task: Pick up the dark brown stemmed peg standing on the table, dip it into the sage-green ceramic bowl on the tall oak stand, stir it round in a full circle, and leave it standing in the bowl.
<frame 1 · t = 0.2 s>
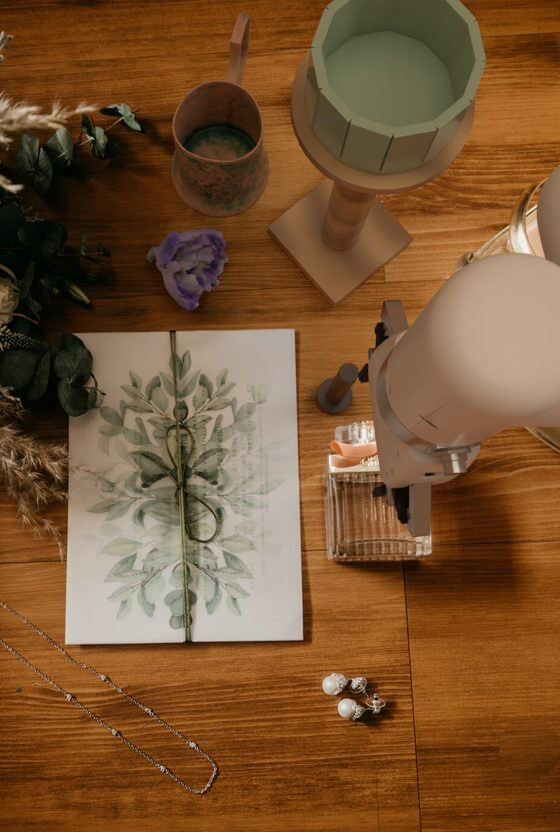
hand: (383, 434, 60), 22 cm above the table, tool pointing down, fingers open, 9 cm apart
flower: (184, 278, 84), on the table
stand: (338, 238, 84), on the table
dark brown stemmed peg: (333, 398, 83), on the table
bowl: (383, 101, 58), resting on stand
mug: (226, 148, 85), on the table
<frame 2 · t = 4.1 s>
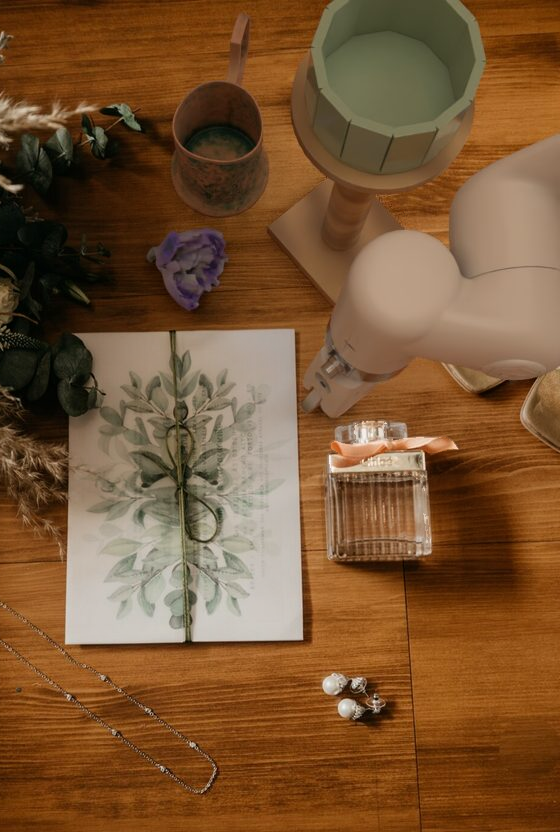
hand: (341, 385, 76), 7 cm above the table, tool pointing down, fingers closed on dark brown stemmed peg, 2 cm apart
dark brown stemmed peg: (333, 398, 83), on the table, touching gripper
everything else where it was.
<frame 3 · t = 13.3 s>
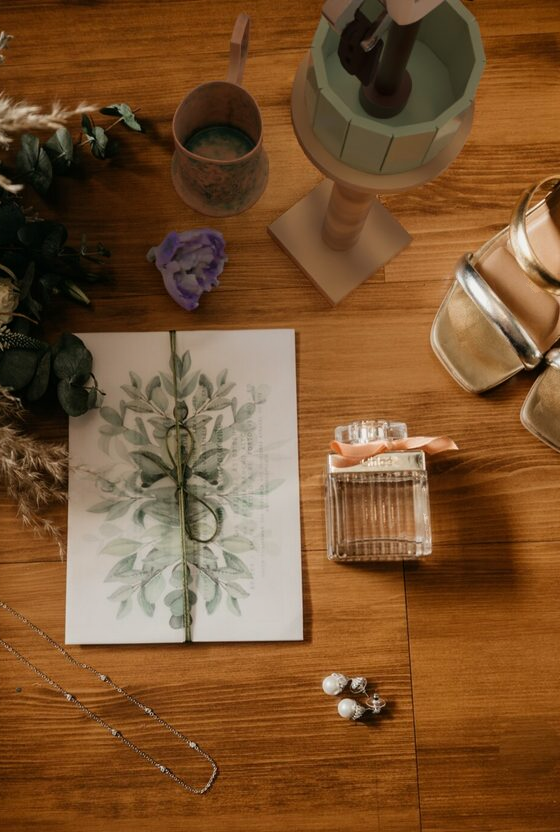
hand: (407, 27, 50), 34 cm above the table, tool pointing down, fingers open, 9 cm apart
dark brown stemmed peg: (383, 95, 58), point 27 cm above the table, touching bowl
everything else where it was.
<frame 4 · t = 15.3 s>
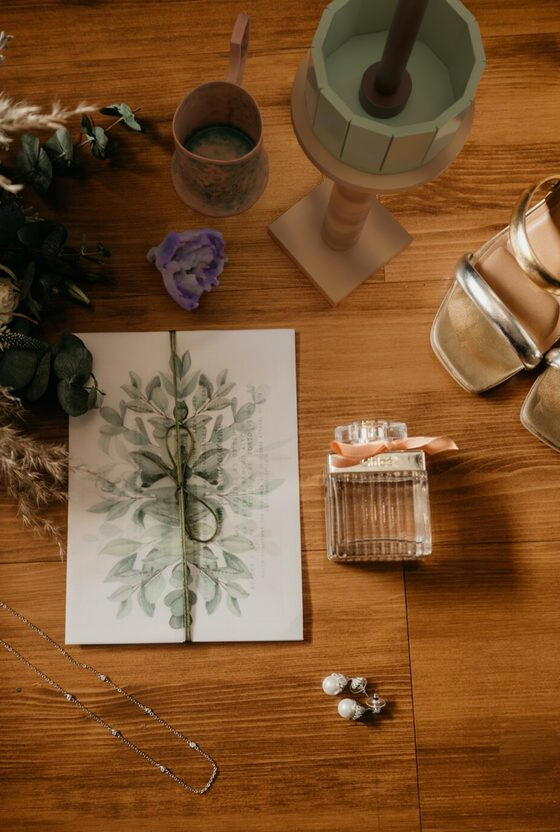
nothing on the table moved.
at the end: dark brown stemmed peg inside the target area on the bowl (0.1 cm from its centre), point 0.6 cm above the bowl's base; dark brown stemmed peg moved 32.8 cm from its start; the gripper is holding nothing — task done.
